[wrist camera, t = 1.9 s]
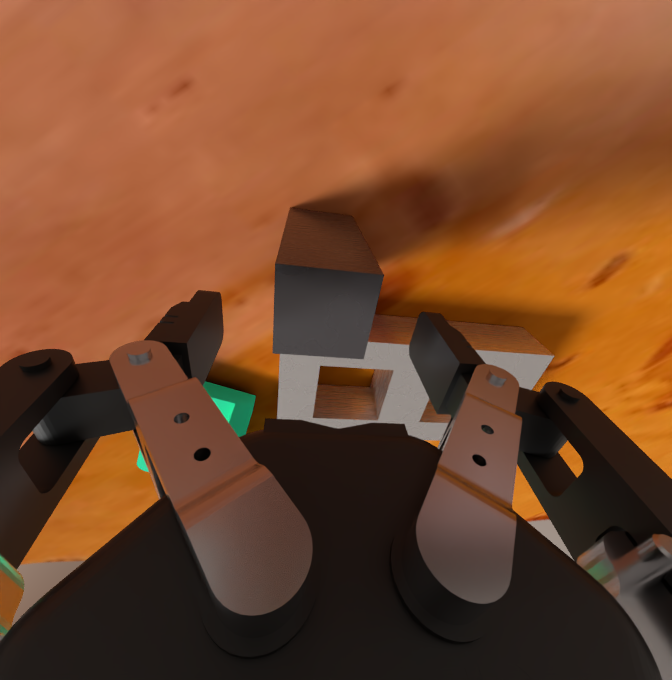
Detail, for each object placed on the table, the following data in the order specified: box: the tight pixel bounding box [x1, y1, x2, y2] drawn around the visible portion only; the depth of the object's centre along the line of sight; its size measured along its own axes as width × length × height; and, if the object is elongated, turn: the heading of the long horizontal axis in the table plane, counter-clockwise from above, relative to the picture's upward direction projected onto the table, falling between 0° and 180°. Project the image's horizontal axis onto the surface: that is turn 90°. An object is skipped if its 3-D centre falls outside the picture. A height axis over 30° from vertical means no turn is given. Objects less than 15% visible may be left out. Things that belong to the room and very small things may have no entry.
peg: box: [273, 208, 384, 359], centre depth 16 cm, size 4×4×10 cm
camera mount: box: [137, 381, 256, 472], centre depth 25 cm, size 12×8×10 cm, turn 153°
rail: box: [277, 314, 554, 440], centre depth 25 cm, size 10×20×4 cm, turn 82°
